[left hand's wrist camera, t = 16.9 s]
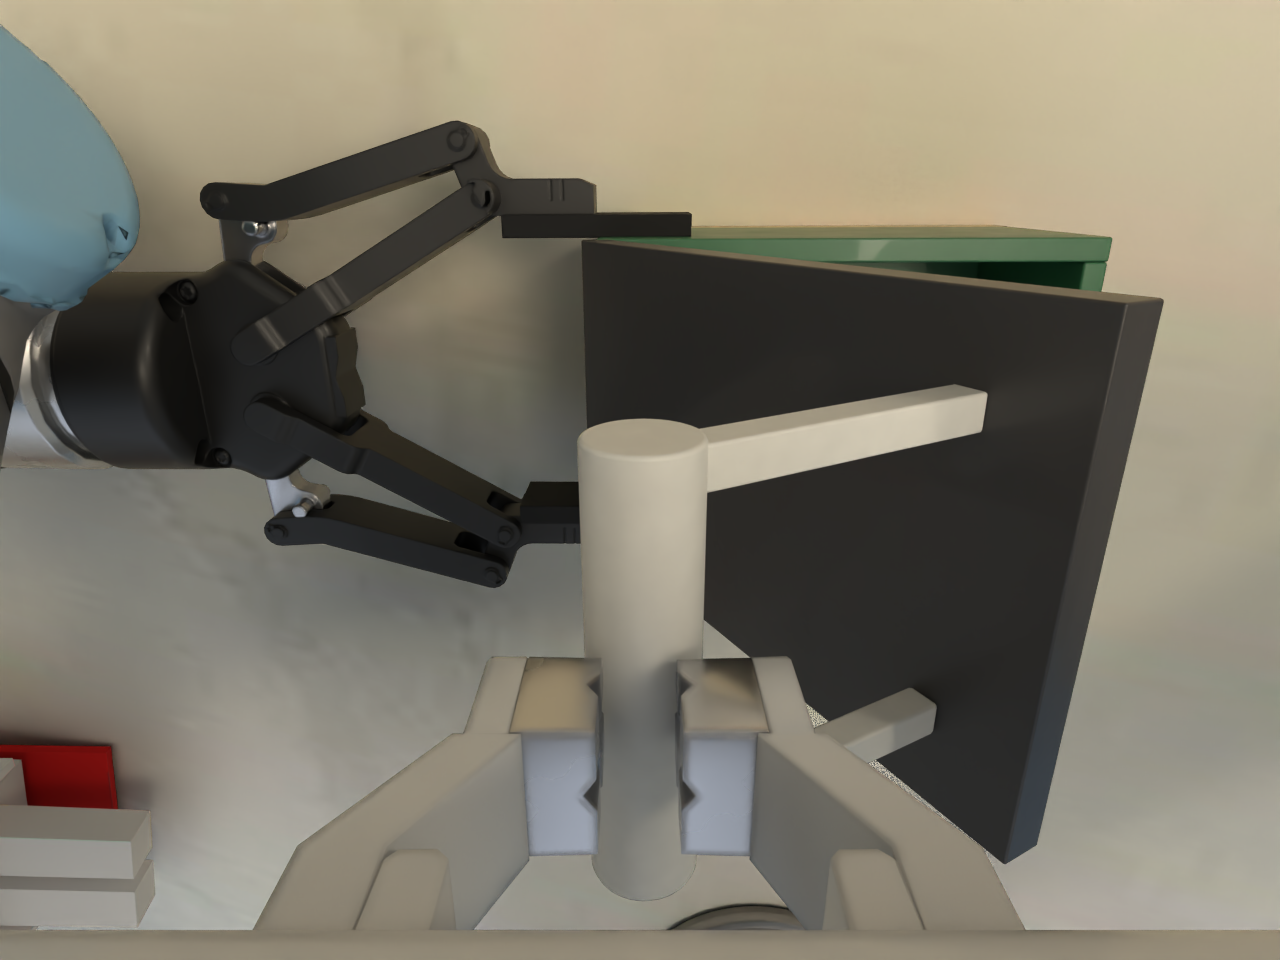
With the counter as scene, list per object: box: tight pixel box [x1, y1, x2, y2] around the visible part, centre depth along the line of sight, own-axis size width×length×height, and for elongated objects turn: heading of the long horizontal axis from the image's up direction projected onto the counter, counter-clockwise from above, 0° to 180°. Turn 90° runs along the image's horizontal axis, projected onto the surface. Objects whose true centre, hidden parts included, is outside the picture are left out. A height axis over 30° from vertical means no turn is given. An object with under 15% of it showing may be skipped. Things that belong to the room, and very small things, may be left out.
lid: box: [577, 239, 1164, 901], centre depth 18 cm, size 17×10×8 cm
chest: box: [596, 225, 1112, 292], centre depth 31 cm, size 17×10×9 cm, turn 90°
